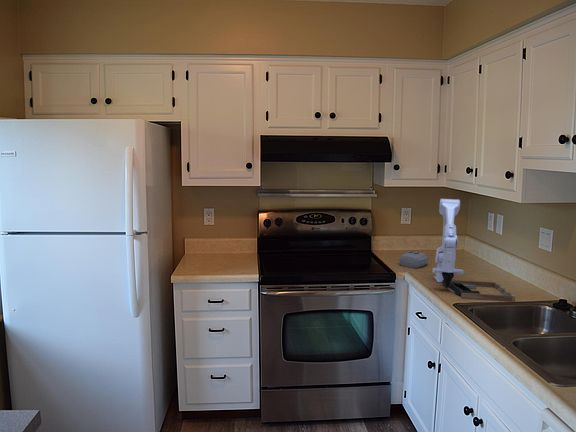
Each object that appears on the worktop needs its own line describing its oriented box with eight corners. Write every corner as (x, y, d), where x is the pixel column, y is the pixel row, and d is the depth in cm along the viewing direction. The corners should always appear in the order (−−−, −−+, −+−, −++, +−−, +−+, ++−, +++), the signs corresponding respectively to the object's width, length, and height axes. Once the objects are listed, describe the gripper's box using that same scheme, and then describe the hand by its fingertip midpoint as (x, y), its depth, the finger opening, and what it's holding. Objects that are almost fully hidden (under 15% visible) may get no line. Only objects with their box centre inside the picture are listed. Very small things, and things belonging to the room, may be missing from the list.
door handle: (469, 280, 232) (439, 278, 230) (489, 292, 212) (457, 290, 210) (468, 286, 232) (439, 284, 231) (488, 299, 212) (456, 297, 211)
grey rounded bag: (418, 270, 259) (432, 264, 274) (419, 256, 258) (433, 251, 273) (395, 265, 269) (410, 260, 284) (396, 251, 268) (411, 247, 283)
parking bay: (448, 284, 232) (448, 279, 231) (496, 286, 229) (496, 282, 229) (461, 298, 208) (461, 293, 208) (514, 301, 206) (515, 296, 206)
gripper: (435, 261, 215) (433, 288, 217) (466, 263, 214) (463, 290, 216) (432, 258, 222) (430, 284, 224) (462, 259, 221) (459, 286, 222)
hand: (446, 287), depth 220 cm, fingers closed
